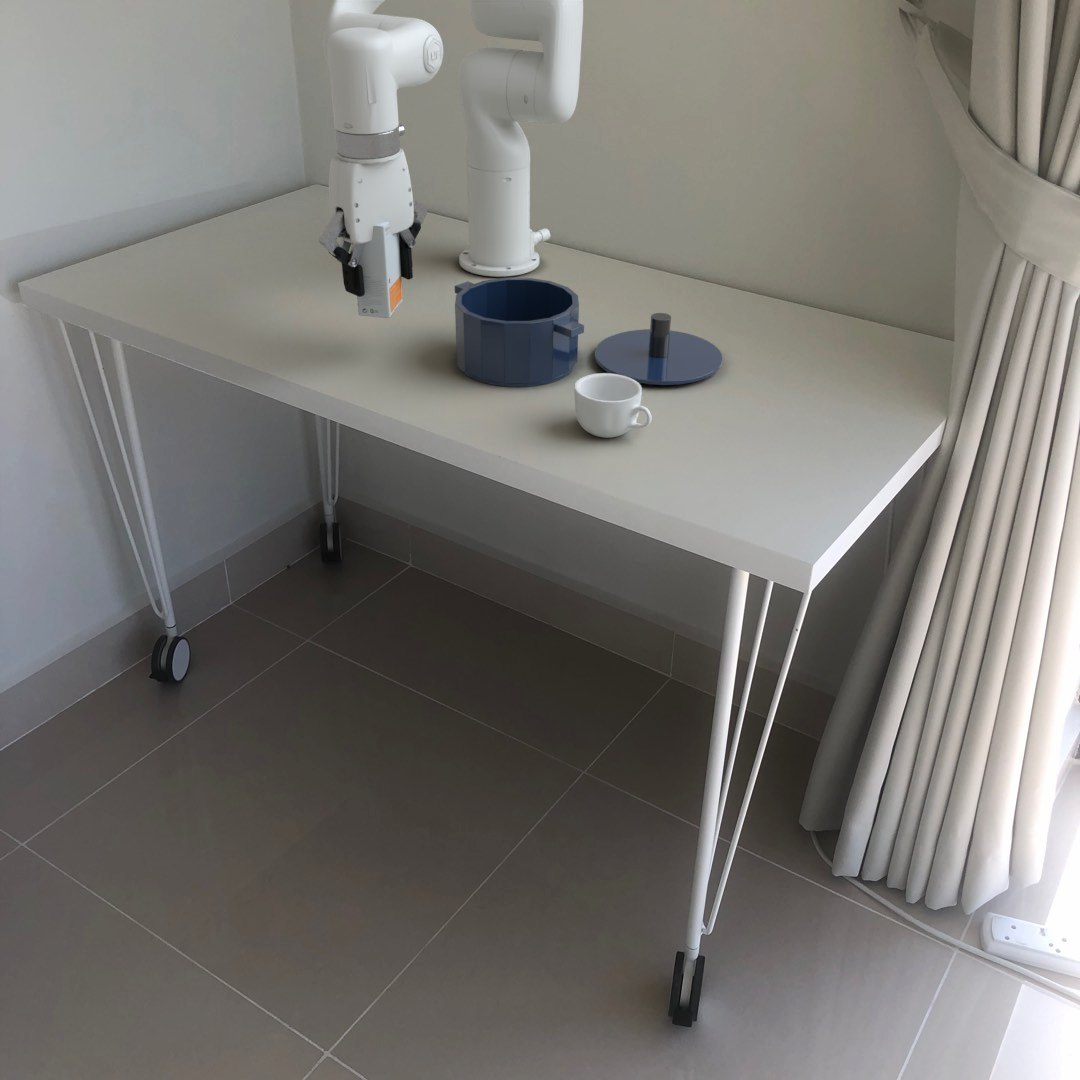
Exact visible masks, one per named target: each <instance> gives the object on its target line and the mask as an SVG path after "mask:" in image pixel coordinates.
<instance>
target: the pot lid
mask: <svg viewBox="0 0 1080 1080" xmlns="http://www.w3.org/2000/svg"><path fill="white" fill-rule="evenodd" d="M649 322H650V324H649V328H646V329H634V330H627V331H623V332H619V333H615V334H613V335H610V336H608V337H606V338H604V339H603V340H601V341H600V342H599V343H598V344H597V346H596V347H595V349H594V359H595V362H596V363H597V365H598V366H599V367H600V368H601V369H602V370H604V371H605V372H606V373H611V374H618V375H623V376H626V377H629V378H631V379H633V380H635V381H637V382H638V383H639V384H646V385H655V386H656V385H657V386H674V385H684V384H691V383H694V382H698V381H702V380H705V379H707V378H709V377H711V376H713V375H714V374H717V372H718V371H719V370H720V369H721V367H722V364H723V354H722V352H721V350H720V349H719V348H718V347H717V346H716V344H713V343H712V342H710V341H708V340H707V339H704V338H702V337H700V336H697V335H694V334H691V333H688V332H687V333H686V332H682V331H677V330H672V329H671V326H672V316H671V315H670V314H669V313H665V312H656V313H655V312H654V313H652V314H651V315H650V321H649Z"/></svg>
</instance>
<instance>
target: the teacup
mask: <svg viewBox="0 0 1080 1080" xmlns="http://www.w3.org/2000/svg"><path fill="white" fill-rule="evenodd" d="M573 393H574V408H575V414H576V419H577V421H578V424H579V425H580V426H581V428H582V429H583V430H584V431H586V432H587V433H589V434H590V435H592V436H595V437H597V438H605V439H608V438H616V437H619V436H622V435H625V434H626V433H628V432H629V431H630V430H631V429H638V430H639V429H644V428H647V427H648V426H650V425H651V423H652V420H653V419H652V418H653V417H652V412H651V411H650V409H649V408H647V406H644V405H641V403H642V396H643V395H642V394H643V387H642V385H641V383H638V382H637V381H635V380H633V379H631V378H629V377H626V376H623V375H618V374H611V373H608V372H602V373H601V372H600V373H592V374H588V375H584V376H582V377H580V378H578V379H577V380H576V381H575V382H574V389H573ZM640 412H644V414H645V415H646V421H645V423H638V422H637V420H638V419H639V415H640Z"/></svg>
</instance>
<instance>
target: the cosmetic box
mask: <svg viewBox="0 0 1080 1080" xmlns="http://www.w3.org/2000/svg"><path fill="white" fill-rule="evenodd" d="M358 264H359V265H361V266H362V268H363V278H364V290H365V294H364V296H361V297H358V296H356V297H357V298H356V299H357V311H358V313H357V314H358V316H360V317H370V318H381V319H390V318H391V316H392V315H393V313H394V312H395V311H396V310H397V308H398V307H399V306H400V305H401V304H402V303H403V300H404V297H403V281H402V277H401V262H400V246H399V233H397V234H394V235H393V234H391V231H390V226H389V222H385V223H381V224H377V225H374V227H373V235H372V241H370V242H368V243H365V244H364V245H363V248H362V251H361V255H360V258H359V261H358Z"/></svg>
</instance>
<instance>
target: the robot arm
mask: <svg viewBox="0 0 1080 1080" xmlns="http://www.w3.org/2000/svg"><path fill="white" fill-rule="evenodd" d="M384 2H386V0H332V1H331V5H330V7H329V10H328V13H327V17H326V20H325V24H324V28H323V36H322V52H323V58H324V60H325V61H324V62H325V63H326V65H327V67H328V75H329V86H330V94H331V95H330V96H331V106H332V117H333V118H332V119H333V128H334V137H335V139H334V140H335V149H336V155H334V156H332V157H331V160H330V166H329V173H328V174H329V175H328V216H329V223H328V224H327V225H326V227H325V228H324V230H323V231H322V232H321V234H320V236H319V237H318V243H319V244H320V245H321V246H322V247H323V248H324V249H325V250H326V251H327V252H328V253H329V254H330V255H331V256H332V257H333V258H334V259H336V261H337V262H338V263H341V271H342V278H343V279H342V280H343V281H342V282H343V286H344V289H345V291H346V292H347V293H348V294H352V295H354V296H356V297H357V296H358V297H361V296H364V294H365V290H364V278H363V268H362V266H361V265H359V264H358V261H359V258H360V255H361V251H362V248H363V245H364V244H365V243H368V242H370V241H372V235H373V227H374V225H377V224H381V223H385V222H389V226H390V231H391V234H393V235H394V234H397V233H399V246H400V262H401V278H403V279H406V280H408V281H409V280H412V279H413V278H414V273H413V271H414V270H413V253H412V252H413V251H412V249H413V248H414V247H415V246H416V242H417V241H416V238H417V237H418V235H419V233H420V231H421V229H422V224H423V223H424V220H425V218H426V216H427V214H428V208H427V207H425V206H424V205H422V204H421V203H420V202H418V200H416V199H414V198H413V197H414V196H413V188H412V181H411V176H410V171H409V165H408V162H407V161H408V160H407V157H406V154H405V151H404V149H403V148H401V139H400V138H401V136H404V135H405V132H406V130H405V127H404V125H403V124H402V123H399V107H398V94H397V91H398V90H401V89H409V88H414V87H420V86H423V85H425V84H427V83H428V82H430V81H431V80H432V79H433V78H434V77H436V75H437V74H438V72H439V70H440V68H441V66H442V63H443V58H444V44H443V40H442V37H441V35H440V33H439V32H438V30H437V28H436V27H434V26H433V24H431V23H429V22H428V21H425V20H423V19H421V18H415V17H408V16H396V15H390V14H389V15H388V14H376V13H374V12H376V11H377V9H378V8H379V6H381V5H382V4H383V3H384ZM470 15H471V21H472V24H473V26H474V29H476V30H477V32H479V33H481V34H483V35H485V36H489V37H494V38H501V39H507V40H508V39H509V40H520V41H531V42H534V41H535V42H540V44H541V46H542V51H534V50H533V51H532V50H523V49H517V48H516V49H515V48H504V47H483V48H482V47H481V48H478V49H475V50H473V51H470V52H469V53H468V54H467V55H466V56H465V57H464V58H462V61H461V63H460V65H459V68H458V74H457V88H458V89H457V90H458V95H459V100H460V104H461V109H462V114H463V122H464V129H465V130H464V131H465V132H464V133H465V145H466V179H467V181H466V182H467V183H466V184H467V185H466V186H467V221H468V223H467V224H468V226H467V227H468V228H467V230H468V248H467V249H466V248H465V250H463V251H462V252H461V253H460V254H459V256H458V260H459V261H458V264H459V266H460V267H461V268H462V269H463V270H465V271H467V272H468V273H471V274H475V275H477V276H478V275H479V276H482V277H483V276H484V277H495V278H496V277H497V278H506V277H515V276H521V275H525V274H528V273H530V272H532V271H534V270H536V269H537V268H538V267H539V265H540V263H541V262H540V255H539V253H538V252H537V251H536V250H535V247H537V245H538V244H542V243H544V242H547V241H549V240H550V239H551V232H550V230H549V229H548V228H545V227H544V228H541V229H538V230H536V231H533V230H532V228H531V148H530V145H529V141H528V138H527V136H526V134H525V132H524V130H523V128H522V127H521V126H520V124H519V122H522V123H531V124H541V125H561V124H565V123H566V122H568V121H569V120H570V119H571V118H572V116H573V115H574V113H575V110H576V107H577V103H578V99H579V98H578V97H579V90H580V76H581V74H580V73H581V59H582V44H583V43H582V42H583V27H584V26H583V25H584V0H470ZM337 238H341V241H340V244H339V243H338V241H337V240H338V239H337Z"/></svg>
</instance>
